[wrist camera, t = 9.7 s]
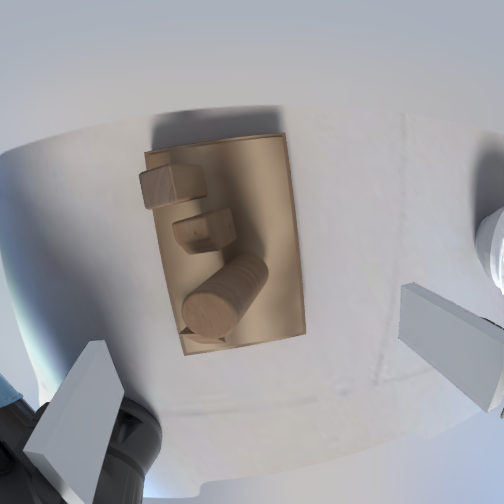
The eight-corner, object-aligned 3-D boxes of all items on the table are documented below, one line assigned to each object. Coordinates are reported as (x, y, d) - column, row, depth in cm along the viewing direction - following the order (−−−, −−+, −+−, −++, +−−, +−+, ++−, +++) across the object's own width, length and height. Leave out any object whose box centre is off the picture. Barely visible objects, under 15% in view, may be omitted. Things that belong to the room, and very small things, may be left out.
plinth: (185, 341, 36) (184, 356, 32) (150, 155, 31) (144, 152, 27) (297, 321, 37) (306, 334, 34) (277, 137, 32) (285, 132, 29)
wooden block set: (167, 176, 30) (100, 180, 21) (246, 155, 28) (198, 146, 18) (206, 335, 34) (162, 388, 24) (281, 332, 31) (256, 394, 21)
